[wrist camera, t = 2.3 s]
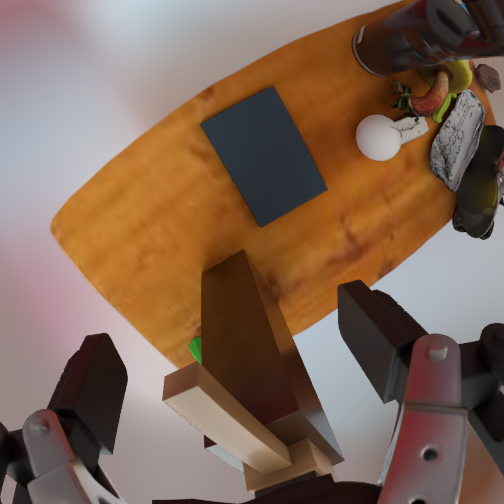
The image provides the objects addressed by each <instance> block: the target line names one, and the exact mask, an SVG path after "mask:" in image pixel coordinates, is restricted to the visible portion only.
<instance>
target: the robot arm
mask: <svg viewBox="0 0 504 504" xmlns="http://www.w3.org/2000/svg"><path fill="white" fill-rule="evenodd" d="M462 2H463V3H465V4H464V6H465V7H466V9H467V10H466V9H465V8H463V7H462V6H461V5H460V4H459V3H458V2H457V1H455V0H416V1H414V2H412V3H410V4H407V5H406V6H404V7H402V8H400V9H398V10H396V11H394V12H392V13H390V14H388V15H386V16H385V17H383V18H381V19H379V20H377V21H375V22H374V23H372V24H370V25H368V26H367V27H365V25H364V26H363V27H361V29H360V30H359V31H357V32H356V33H355V35H354V37H353V40H352V50H353V53H354V56H355V58H356V60H357V61H358V63H359V64H360V65H361V66H362V67H363V68H364V69H365V70H366V71H367V72H369V73H371V74H373V75H375V76H379V77H386V76H390V75H392V74H395V73H400V72H404V71H408V70H413V69H417V68H422V67H427V66H431V65H437V64H442V63H447V62H453V61H459V60H468V59H476V58H489V57H504V0H462ZM337 294H338V324H339V330H340V333H341V336H342V338H343V340H344V341H345V343H346V345H347V346H348V348H349V349H350V351H351V352H352V354H353V355H354V357H355V359H356V360H357V362H358V363H359V365H360V366H361V368H362V370H363V371H364V373H365V374H366V376H367V377H368V379H369V380H370V382H371V384H372V385H373V387H374V389H375V390H376V392H377V393H378V395H379V397H380V398H381V400H382V401H383V403H384V404H385V403H388V402H390V401H392V400H395V399H396V401H397V402H398V403H399V408H398V412H397V416H396V420H395V425H394V428H393V433H392V436H391V440H390V443H389V447H388V451H387V454H386V458H385V460H384V463H383V466H382V469H381V472H380V474H379V477H378V480H377V483H376V485H375V484H370V483H365V482H353V481H349V482H347V481H342V482H334V480H333V477H332V474H331V473H329V474H325V475H322V476H319V477H315V478H312V479H308V480H304V481H301V482H297V483H293V484H288V485H285V486H283V487H281V488H279V489H276V490H274V491H272V492H270V493H267V494H265V495H262V496H260V497H258V498H255V499H253V500H250V501H248V502H245V503H241V504H458V500H459V495H460V489H461V484H462V477H463V470H464V463H465V453H466V444H467V443H466V442H467V430H468V421H469V422H470V424H471V425H472V427H473V428H474V430H475V431H476V433H477V434H478V436H479V437H480V439H481V440H482V442H483V443H484V445H485V447H486V448H487V450H488V451H489V453H490V455H491V456H492V458H493V459H494V461H495V463H496V464H497V466H498V468H499V469H500V471H501V473H502V474H503V476H504V395H503V393H502V392H501V391H500V389H501V387H502V385H503V386H504V324H502V323H493V324H489V325H487V326H486V327H485V328H484V329H483V330H482V333H481V336H480V339H479V341H474V342H468V343H463V344H457V343H456V342H455V340H453V339H452V338H450V337H448V336H446V335H442V334H428V333H427V332H426V331H425V330H424V329H423V328H422V327H421V326H420V325H419V324H418V323H417V322H416V321H415V320H414V319H413V318H412V317H411V316H410V315H409V314H408V313H407V312H406V311H404V309H403V308H402V307H401V306H400V305H398V304H397V302H396V301H395V300H394V299H393V298H392V297H390V295H388V294H386V293H384V292H381V291H379V290H373V291H371V290H370V289H369V288H368V287H367V286H366V285H365V284H364V283H363V282H362V281H361V280H355V281H351V282H348V283H344V284H340V285H339V286H338V289H337ZM127 381H128V376H127V371H126V367H125V365H124V363H123V361H122V360H121V357H120V356H119V354H118V352H117V350H116V348H115V346H114V344H113V342H112V340H111V338H110V336H109V335H108V334H107V333H101V334H94V335H87V336H86V337H85V339H84V341H83V343H82V345H81V347H80V349H79V350H78V351H77V352H76V353H75V354H74V355H73V356H72V357H71V358H70V359H69V360H68V363H67V365H66V367H65V369H64V372H63V373H62V375H61V378H60V381H59V382H58V384H57V386H56V389H55V391H54V393H53V395H52V398H51V400H50V402H49V405H48V407H47V409H42V410H38V411H36V412H34V413H33V414H32V415H30V416H29V417H28V418H27V420H26V421H25V423H24V425H23V429H19V430H15V431H11V432H9V431H8V430H7V429H6V427H5V426H4V425H3V424H2V423H1V422H0V495H1V490H2V486H3V482H4V478H5V475H6V474H7V475H9V476H10V477H11V478H12V479H13V480H15V481H16V482H17V485H16V489H15V493H14V498H13V503H12V504H128V503H127V502H126V501H125V499H124V498H123V496H122V495H121V493H120V492H119V491H118V489H117V488H116V486H115V485H114V483H113V482H112V480H111V478H110V477H109V475H108V474H107V472H106V471H105V469H104V467H103V466H102V465H101V463H100V462H99V461H98V459H99V454H104V455H107V454H108V455H112V454H113V449H114V444H115V438H116V433H117V428H118V423H119V418H120V413H121V409H122V404H123V400H124V395H125V391H126V386H127ZM0 504H2V503H1V499H0ZM152 504H234V503H223V502H213V501H205V500H198V499H180V500H152Z"/></svg>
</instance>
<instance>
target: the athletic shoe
mask: <svg viewBox="0 0 504 504" xmlns="http://www.w3.org/2000/svg"><path fill="white" fill-rule="evenodd" d="M477 148H478V149H476V152H475V153H474V156H473V158H472V160H471V161H470V163H469V165H468V166H467V168H466V169H465V171H464V173H463V176H462V177H461V181H460V185H459V186H458V190H457V205H458V214H459V218H460V221H461V223H462V225H463V227H464V229H465V231H466V232H467V234H468V235H470V236H471V237H474V238H479V237H481V236H483V235H484V234H486V233H487V231H488V230H489V228H490V227H491V225H492V223H493V221H494V218H495V215H496V212H497V208H498V205H499V204H501V205H503V206H504V202H503V197H502V196H503V195H504V129H503V128H502V127H499V126H496V125H490V126H487V125H483V129H482V131H481V134H480V139H479V143H478V147H477ZM500 177H501V178H502V180H503V181H502V182H500V180H499V178H500Z"/></svg>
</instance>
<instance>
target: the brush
mask: <svg viewBox="0 0 504 504" xmlns="http://www.w3.org/2000/svg"><path fill="white" fill-rule="evenodd" d="M162 401H163V402H164V403H166V404H167V405H168V406H169V407H170V408H171V409H173V410H174V411H175V412H176V413H178V414H179V415H180V416H181V417H183V418H184V419H185V420H186V421H187V422H189V423H190V424H191V425H193V426H194V427H195V428H197V429H198V430H199V431H200V432H202V433H203V434H204V435H206V436H207V437H208V438H210V439H211V440H213V441H214V442H215V443H217V444H218V445H219V446H221V447H222V448H224V449H225V450H227V451H228V452H230V453H231V454H233V455H234V456H235V457H237V458H238V459H240V460H242V461H243V462H245V463H243V469H244V475H245V481H246V487H247V491H248V492H249V493H251V494H253V495H255V498H258V497H260V496H262V495H265V494H267V493H270V492H272V491H274V490H276V489H279V488H281V487H283V486H285V485H288V484H293V483H297V482H301V481H304V480H308V479H312V478H315V477H319V476H322V475H325V474H329V473H331V474H332V477H333V480H334V482H338V479H337V477H336V474H335V472H334V469H333V466H332V464H331V461H330V459H329V458H328V457H327V456H326V455H325V454H324V453H322V452H321V451H320V450H319V449H318V448H317V447H316V446H315V445H314V444H313V443H312V442H311V441H310V440H309V439H308V438H305V439H303V440H301V441H299V442H296V443H294V444H292V445H289V446H286V445H285V444H284V443H283V442H282V441H280V440H279V439H278V438H277V437H276V436H275V435H273V434H272V433H271V432H270V431H269V430H268V429H267V428H266V427H265V426H263V425H262V424H261V423H260V422H259V421H258V420H257V419H256V418H255V417H254V416H252V415H251V414H250V413H249V412H248V411H247V410H246V409H245V408H244V407H243V406H242V405H241V404H240V403H239V402H238V401H237V400H236V399H235V398H234V397H233V396H232V395H231V394H230V393H229V392H228V391H227V390H226V389H225V388H224V387H223V386H222V385H221V384H220V383H219V382H218V381H217V380H216V379H215V378H214V377H213V376H212V375H211V374H210V373H209V372H208V371H207V370H206V369H205V368H204V367H203V366H202V365H201V364H200V363H199V362H198V361H196V362H194V363H192V364H190V365H188V366H186V367H184V368H182V369H179V370H177V371H175V372H173V373H171V374H169V375H167V376H165V379H164V389H163V398H162Z"/></svg>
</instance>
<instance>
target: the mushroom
mask: <svg viewBox="0 0 504 504" xmlns="http://www.w3.org/2000/svg"><path fill="white" fill-rule="evenodd" d="M418 71H419V73H420V75H421V76H422V78H423V79H424V80H426V81H427V82H428V84H429V85H430V86H432V87H431V88H430V90H429V91H428V92H427V94H426V95H425V96H422V97H415V96H413V95H412V92H411V88H410V86H408V85H407V86H404V85H405V84H401V83H399V81H397V82H395V81H394V79H393V82H392V86H391V94H396V93H397V99H396V100H395V101H394V102H393V104H392V105H391V107H392V108H395V107H397V108H399V109H400V110H405V113H404V117H410V118H414V117H415V119H414V121H415V122H416V123H418V120H419V117H427V116H428V117H431V114H432V113H433V112H435V110H436V109H438V108H439V107H440V106H441V104H442V103H443V102H444V100H445V98H446V95H447V93H449V94H455V93H460V92H462V91H464V90H465V89H467V88H468V86H469V85H470V84H471V82H472V71H471V69H470V68H469V64H468V62H467V61H466V60H459V61H453V62H447V63H442V64H437V65H431V66H427V67H422V68H418ZM401 85H402V86H401Z"/></svg>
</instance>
